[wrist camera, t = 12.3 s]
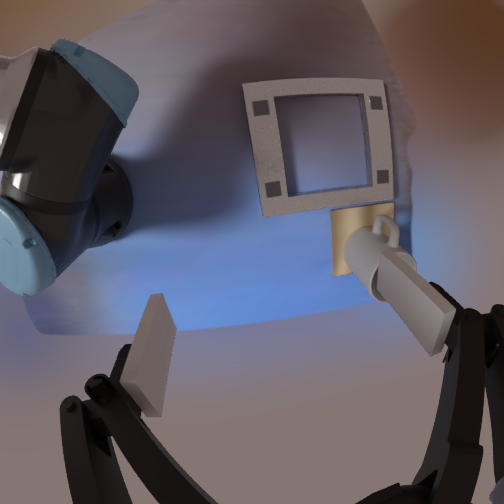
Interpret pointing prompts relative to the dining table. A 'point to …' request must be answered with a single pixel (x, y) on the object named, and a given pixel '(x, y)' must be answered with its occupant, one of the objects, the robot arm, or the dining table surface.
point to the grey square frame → (270, 150)
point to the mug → (373, 252)
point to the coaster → (354, 228)
